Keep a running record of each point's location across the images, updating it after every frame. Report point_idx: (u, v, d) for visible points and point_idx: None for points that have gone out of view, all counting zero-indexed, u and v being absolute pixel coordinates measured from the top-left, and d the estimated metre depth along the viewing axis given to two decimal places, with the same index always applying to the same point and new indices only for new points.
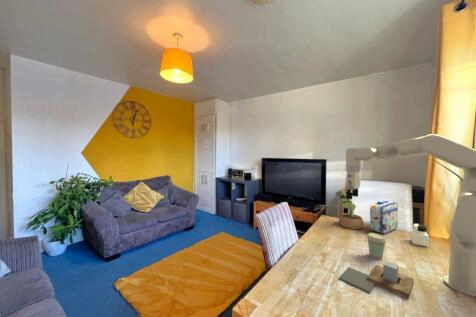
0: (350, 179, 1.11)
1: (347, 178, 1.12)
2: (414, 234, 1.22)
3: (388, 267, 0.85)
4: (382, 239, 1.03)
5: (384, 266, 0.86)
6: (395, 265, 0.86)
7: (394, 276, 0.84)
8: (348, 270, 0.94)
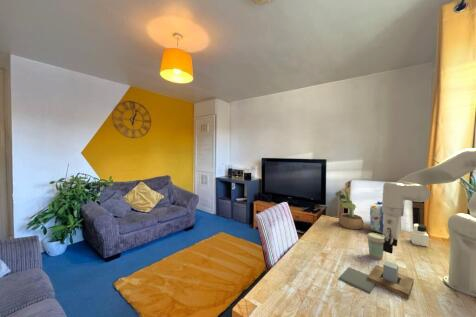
0: (390, 226, 0.82)
1: (385, 224, 0.83)
2: (414, 234, 1.22)
3: (388, 267, 0.85)
4: (382, 239, 1.03)
5: (384, 266, 0.86)
6: (395, 265, 0.86)
7: (394, 276, 0.84)
8: (348, 270, 0.94)
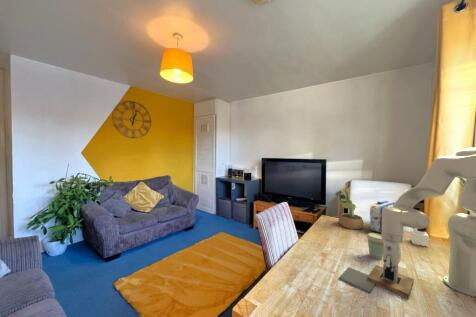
0: (390, 253, 0.82)
1: (385, 250, 0.84)
2: (414, 234, 1.22)
3: None
4: (382, 239, 1.03)
5: (384, 266, 0.86)
6: None
7: (394, 276, 0.84)
8: (348, 270, 0.94)
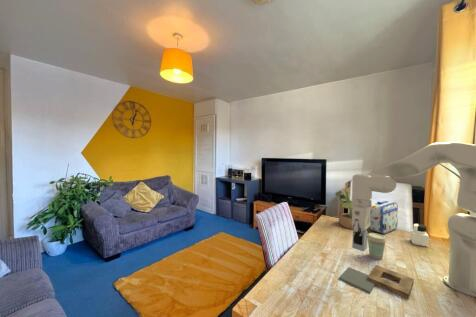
0: (358, 217, 0.83)
1: (354, 215, 0.84)
2: (414, 234, 1.22)
3: None
4: (382, 239, 1.03)
5: (353, 232, 0.87)
6: (364, 231, 0.87)
7: (362, 241, 0.84)
8: (348, 270, 0.94)
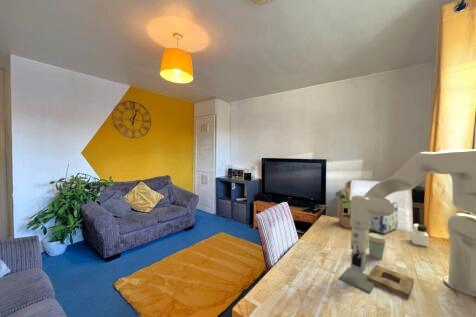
0: (356, 240, 0.84)
1: (352, 237, 0.85)
2: (414, 234, 1.22)
3: None
4: (382, 239, 1.03)
5: None
6: (363, 252, 0.87)
7: (361, 262, 0.85)
8: (348, 270, 0.94)
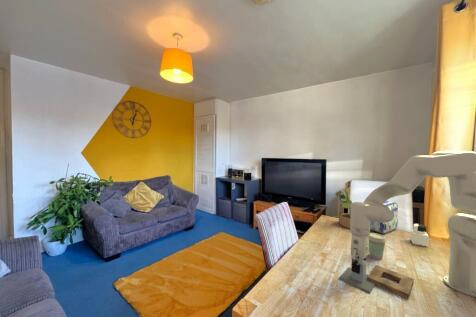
0: (356, 246, 0.84)
1: (352, 244, 0.85)
2: (414, 234, 1.22)
3: None
4: (382, 239, 1.03)
5: None
6: (363, 261, 0.87)
7: (361, 272, 0.85)
8: (348, 270, 0.94)
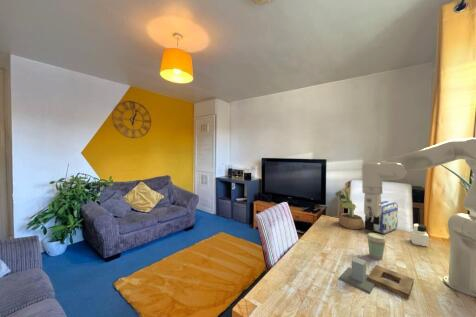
0: (370, 204, 0.85)
1: (366, 203, 0.86)
2: (414, 234, 1.22)
3: (356, 263, 0.87)
4: (382, 239, 1.03)
5: (352, 262, 0.88)
6: (363, 261, 0.87)
7: (361, 272, 0.85)
8: (348, 270, 0.94)
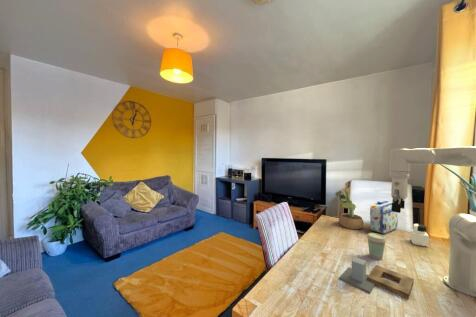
0: (398, 188, 0.89)
1: (393, 186, 0.91)
2: (414, 234, 1.22)
3: (356, 263, 0.87)
4: (382, 239, 1.03)
5: (352, 262, 0.88)
6: (363, 261, 0.87)
7: (361, 272, 0.85)
8: (348, 270, 0.94)
